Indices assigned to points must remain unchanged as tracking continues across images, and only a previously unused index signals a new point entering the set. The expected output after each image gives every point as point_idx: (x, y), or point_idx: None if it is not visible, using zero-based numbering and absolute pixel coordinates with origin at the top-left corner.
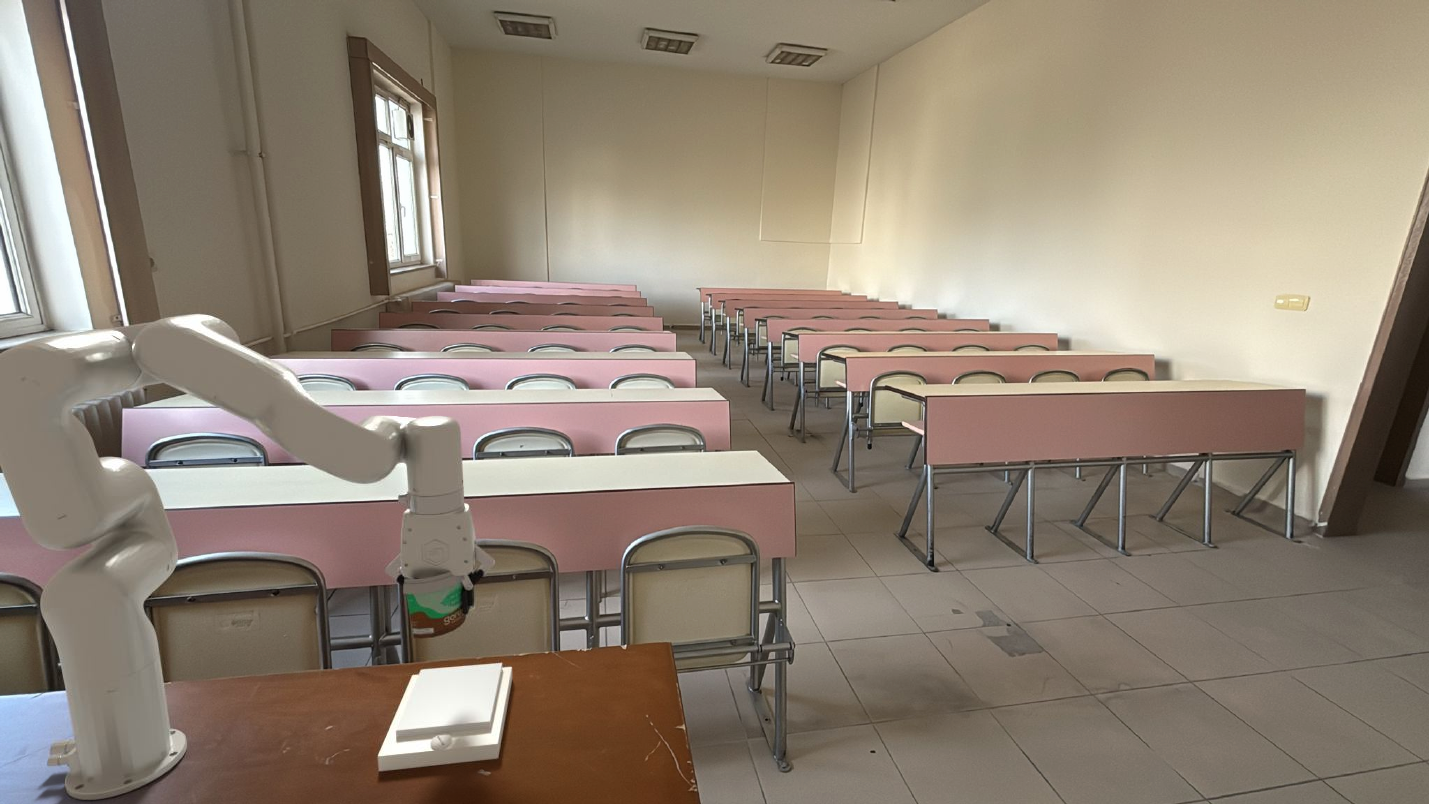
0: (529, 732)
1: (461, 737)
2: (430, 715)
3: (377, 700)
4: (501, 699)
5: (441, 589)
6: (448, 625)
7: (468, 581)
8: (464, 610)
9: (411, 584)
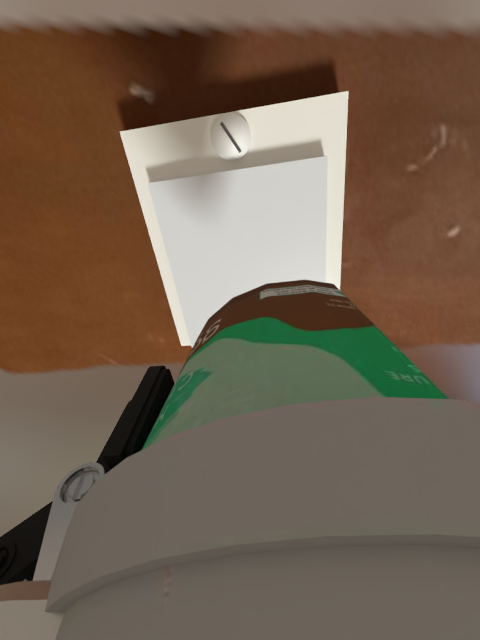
0: (108, 206)
1: (196, 153)
2: (270, 205)
3: (383, 295)
4: (165, 265)
5: (150, 449)
6: (212, 321)
7: (62, 518)
8: (154, 376)
9: None
